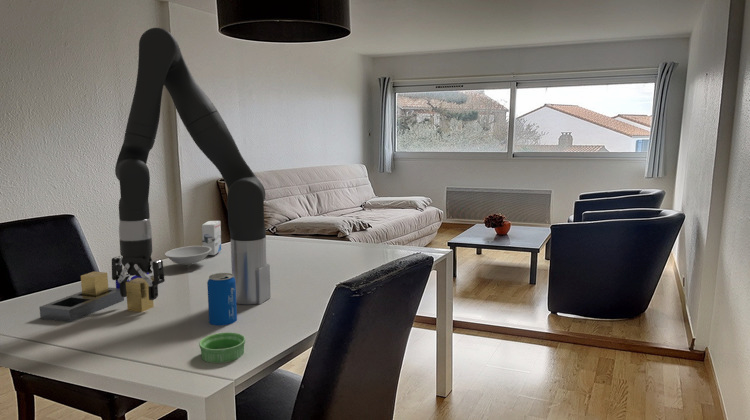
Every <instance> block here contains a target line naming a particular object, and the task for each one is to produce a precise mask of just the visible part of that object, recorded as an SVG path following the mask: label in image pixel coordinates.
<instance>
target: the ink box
mask: <svg viewBox="0 0 750 420" xmlns="http://www.w3.org/2000/svg"><path fill="white" fill-rule="evenodd" d="M221 224H222V223H221V220H208V221H206V222H205V223H203V224H201V237H202V238H201V239H202V240H201V242H202V243H201V244H202V245H201V246H208V247H211V248H212V250H211V251H210V252H209V253H208V255H207V256H215V255H217V254H218V253H219V252H221V250H222V230H221V226H222V225H221Z"/></svg>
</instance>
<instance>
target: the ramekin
mask: <svg viewBox="0 0 750 420" xmlns="http://www.w3.org/2000/svg"><path fill="white" fill-rule="evenodd" d="M245 343H246V336H245V335H243V334H241V333H238V332H231V331H230V332H229V331H227V332H218V333H213V334H209V335H207V336H205V337H203V338H201V340H200V341H199V343H198V344H199V345H198V346H199V349H200V353H201V354H200V355H201V359H202V360H203V361H205V362H207V363H212V364H213V363H214V364H215V363H216V364H218V363H219V364H221V363H229V362H232V361H234V360H237V359H239V358H241V357H242V356H244V355H245V354H244V353H245Z"/></svg>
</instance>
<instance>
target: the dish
mask: <svg viewBox="0 0 750 420" xmlns="http://www.w3.org/2000/svg"><path fill="white" fill-rule="evenodd" d="M211 250H212V248H211V247H208V246H202V245H187V246H180V247H176V248H173V249H170V250H168V251H165V253H164V256H165V257H167V258H168V259H169V260H170V261H171V262H173V263H175V264H178V265H186V266H188V267H189V266H193V265H194V264H196V263H199V262H201V261H203V260H204V259H205V258H206V257H208V256H209V255H208V253H209V252H210V251H211Z"/></svg>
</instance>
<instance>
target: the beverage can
mask: <svg viewBox="0 0 750 420" xmlns="http://www.w3.org/2000/svg"><path fill="white" fill-rule="evenodd" d="M206 284H207V285H206V286H207V303H208V320H209V321H208V323H209V324H210V325H212V326H218V327H219V326H227V325H231V324H234V323H236V322H237V321H238V312H237V311H238V310H237V309H238V307H237V303H236V281H235V278H234V277H233V274H232V273H230V272H218V273H214V274H213V273H212V274H211V275H209V276H208V280H207V282H206Z"/></svg>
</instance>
